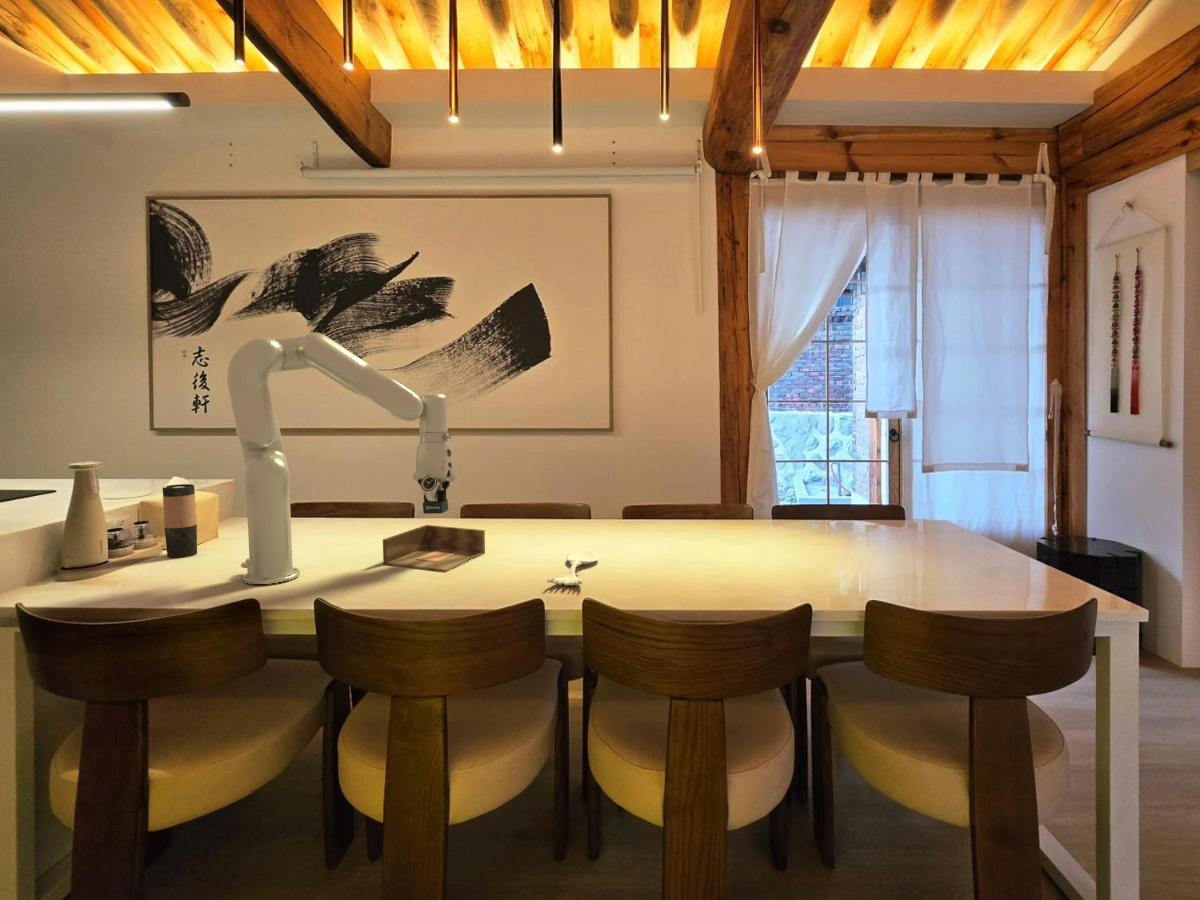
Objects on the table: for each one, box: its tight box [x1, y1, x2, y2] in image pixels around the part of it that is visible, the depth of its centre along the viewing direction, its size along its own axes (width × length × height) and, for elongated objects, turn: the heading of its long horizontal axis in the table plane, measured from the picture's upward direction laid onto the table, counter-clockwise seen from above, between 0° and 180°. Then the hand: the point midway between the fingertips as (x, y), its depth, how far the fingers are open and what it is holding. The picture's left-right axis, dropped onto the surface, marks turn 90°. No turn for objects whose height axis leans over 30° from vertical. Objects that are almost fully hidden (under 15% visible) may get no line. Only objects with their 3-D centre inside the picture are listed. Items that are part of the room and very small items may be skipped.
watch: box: [420, 475, 449, 515], centre depth 173 cm, size 6×8×11 cm
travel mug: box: [162, 483, 198, 559], centre depth 177 cm, size 8×8×20 cm
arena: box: [382, 524, 486, 572], centre depth 175 cm, size 20×20×7 cm
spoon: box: [546, 548, 600, 586], centre depth 163 cm, size 9×32×4 cm, turn 172°
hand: (435, 502), depth 174 cm, fingers closed on watch, 3 cm apart
